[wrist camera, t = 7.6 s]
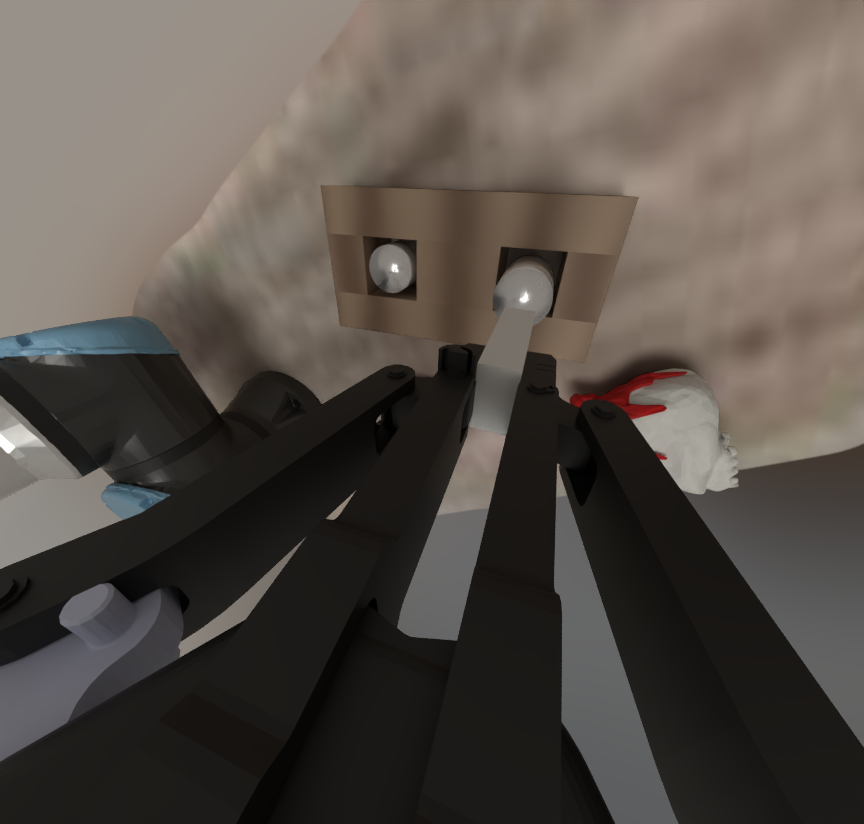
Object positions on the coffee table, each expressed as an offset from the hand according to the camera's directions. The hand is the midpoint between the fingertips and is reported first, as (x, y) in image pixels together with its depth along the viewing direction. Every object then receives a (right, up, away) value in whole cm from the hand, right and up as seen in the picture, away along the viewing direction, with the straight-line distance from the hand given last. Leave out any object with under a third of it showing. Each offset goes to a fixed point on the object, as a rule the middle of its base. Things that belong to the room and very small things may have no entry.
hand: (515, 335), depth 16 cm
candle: (+18, -3, +18) cm, 26 cm away
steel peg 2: (+4, +7, +10) cm, 13 cm away
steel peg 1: (-6, +12, +17) cm, 21 cm away
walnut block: (0, +11, +16) cm, 19 cm away
